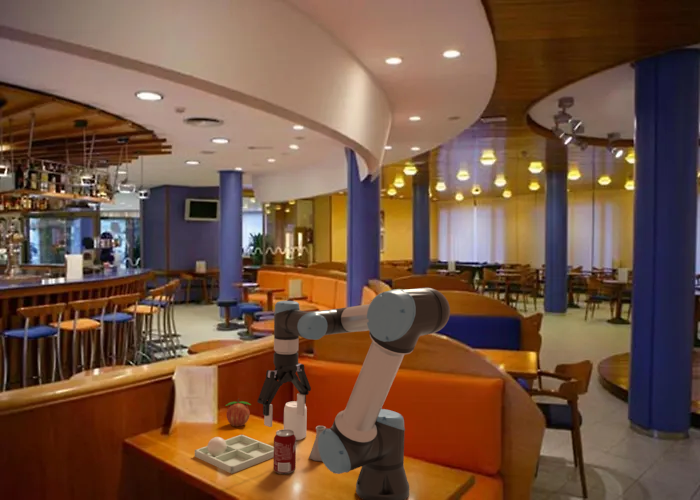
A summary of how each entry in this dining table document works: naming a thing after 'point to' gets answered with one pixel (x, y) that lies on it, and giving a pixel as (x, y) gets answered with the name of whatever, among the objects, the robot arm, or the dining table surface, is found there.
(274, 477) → the dining table surface
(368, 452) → the robot arm
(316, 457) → the flask
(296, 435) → the beverage can
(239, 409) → the fruit
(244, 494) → the dining table surface
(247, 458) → the caddy
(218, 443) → the ceramic egg
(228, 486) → the dining table surface
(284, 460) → the soda can
